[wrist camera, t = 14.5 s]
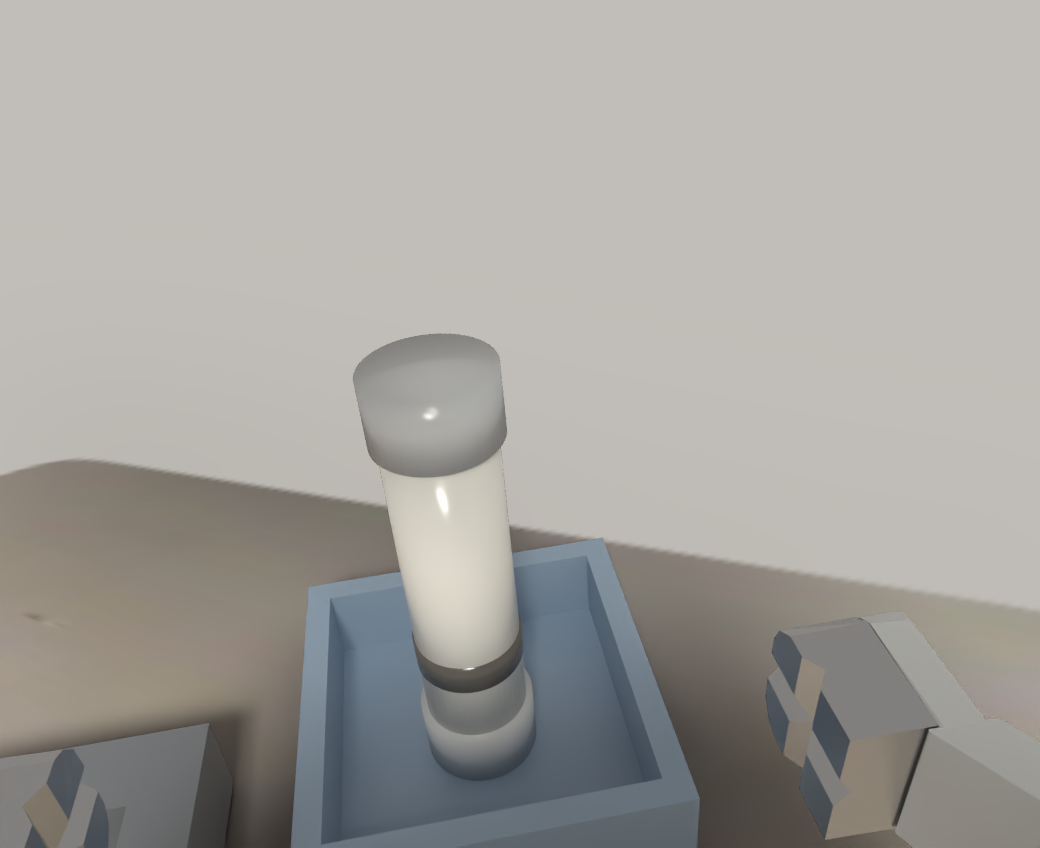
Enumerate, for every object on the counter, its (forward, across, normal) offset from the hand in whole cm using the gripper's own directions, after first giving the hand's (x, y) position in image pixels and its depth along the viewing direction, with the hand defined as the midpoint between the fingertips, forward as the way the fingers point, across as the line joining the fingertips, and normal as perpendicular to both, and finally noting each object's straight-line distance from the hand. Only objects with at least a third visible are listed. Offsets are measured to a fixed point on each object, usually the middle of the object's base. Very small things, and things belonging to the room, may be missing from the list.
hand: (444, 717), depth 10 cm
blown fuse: (+12, -1, +16) cm, 20 cm away
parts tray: (+12, -1, +17) cm, 20 cm away
